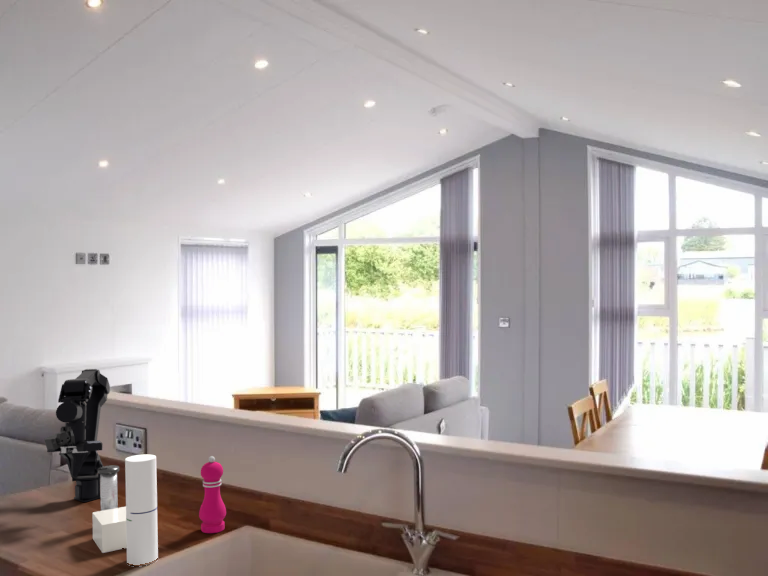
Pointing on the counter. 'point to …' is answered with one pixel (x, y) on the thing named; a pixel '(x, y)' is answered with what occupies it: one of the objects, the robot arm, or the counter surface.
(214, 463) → the pepper mill
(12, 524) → the counter surface
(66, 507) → the counter surface
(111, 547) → the block
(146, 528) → the cylindrical container
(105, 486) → the silver jar
